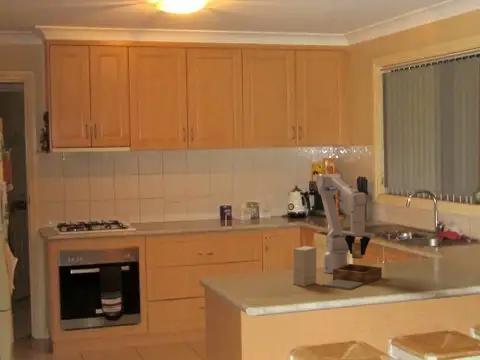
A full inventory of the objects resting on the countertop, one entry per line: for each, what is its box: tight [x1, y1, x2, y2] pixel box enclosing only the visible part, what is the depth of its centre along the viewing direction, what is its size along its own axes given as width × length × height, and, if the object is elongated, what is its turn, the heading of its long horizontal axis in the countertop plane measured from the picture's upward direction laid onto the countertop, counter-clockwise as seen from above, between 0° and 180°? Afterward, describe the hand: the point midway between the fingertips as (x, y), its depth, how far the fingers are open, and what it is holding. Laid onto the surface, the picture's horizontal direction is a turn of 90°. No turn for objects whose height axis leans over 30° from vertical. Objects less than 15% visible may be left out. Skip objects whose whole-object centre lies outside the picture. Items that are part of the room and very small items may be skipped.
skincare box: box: [292, 245, 317, 287], centre depth 296 cm, size 8×6×15 cm
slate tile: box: [322, 279, 364, 291], centre depth 293 cm, size 12×12×1 cm
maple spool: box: [351, 242, 364, 260], centre depth 305 cm, size 4×4×6 cm
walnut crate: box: [332, 263, 383, 285], centre depth 306 cm, size 15×15×4 cm
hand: (357, 254), depth 305 cm, fingers closed on maple spool, 4 cm apart
